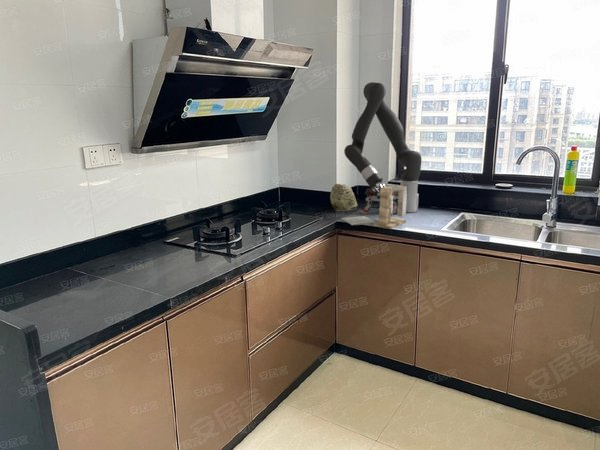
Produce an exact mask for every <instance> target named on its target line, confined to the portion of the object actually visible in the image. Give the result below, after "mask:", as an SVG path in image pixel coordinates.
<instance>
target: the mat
mask: <svg viewBox="0 0 600 450" xmlns="http://www.w3.org/2000/svg"><path fill="white" fill-rule="evenodd" d="M341 220H342V221H344V222H346V223H348V224H349V225H351V226H361V225H369V224H374V223H376V221H375V220H373V219H371V218H369V217H367V216H365V215H364V216H363V215H362V216H351V217H341Z"/></svg>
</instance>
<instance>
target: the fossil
mask: <svg viewBox="0 0 600 450" xmlns="http://www.w3.org/2000/svg"><path fill="white" fill-rule="evenodd" d="M329 198H330V203H331V207H332V208H333V210H334V212H335V213H336V212H347V211H352V210H356V209H357V208H358V202H357V200H356V196H355V193H354V192H353V189H352V187H350V186H349V185H346V184H341V183H334V184H333V186H332V188H331V190H330V197H329Z"/></svg>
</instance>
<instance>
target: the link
mask: <svg viewBox="0 0 600 450" xmlns="http://www.w3.org/2000/svg"><path fill="white" fill-rule="evenodd" d="M385 185H386V187H392V192H394V191H397V192H398V199H397V201H398V207H397V213H396V215H397V217H400V218H401V217H402V218H403V217H405V216H406V213H407V212H406V200H407V186H402V185H401V184H400V185H399V184H393V183H386V184H385ZM392 213H393V196H392V201H391V215H393V214H392Z"/></svg>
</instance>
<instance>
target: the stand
mask: <svg viewBox="0 0 600 450" xmlns="http://www.w3.org/2000/svg"><path fill="white" fill-rule="evenodd" d="M396 194H398V192H397V191H394V192H392V187H381V190H380V208H379V212H378V213H379V214H378V215H379V217H378V221H377V222H376V221H375V222H376V223H372V224H373V225H372V226H373V227H378V228H382V229H388V230H391V229H394V228H395V227H398V226H401V225H403V224H405V223H407V219H403V218H397V217H391V216H392V214H391V201H392V196H393V195H396Z"/></svg>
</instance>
